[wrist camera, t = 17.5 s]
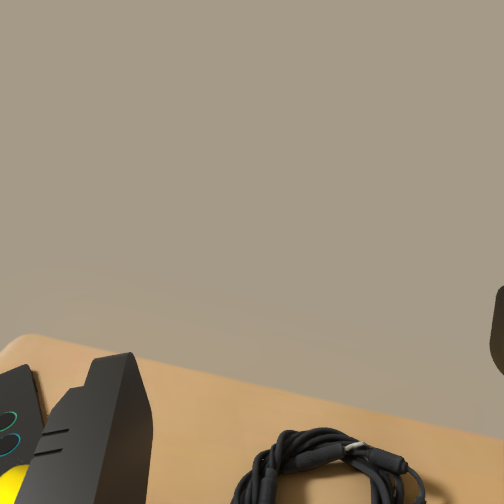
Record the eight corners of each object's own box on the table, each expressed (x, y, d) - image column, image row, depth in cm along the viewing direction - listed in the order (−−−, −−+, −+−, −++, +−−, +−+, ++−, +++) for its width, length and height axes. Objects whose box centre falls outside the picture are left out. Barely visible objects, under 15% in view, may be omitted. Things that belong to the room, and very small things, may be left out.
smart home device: (-42, 510, 39) (-40, 389, 55) (-34, 522, 40) (-34, 399, 56) (52, 462, 43) (29, 361, 59) (57, 473, 44) (33, 371, 59)
